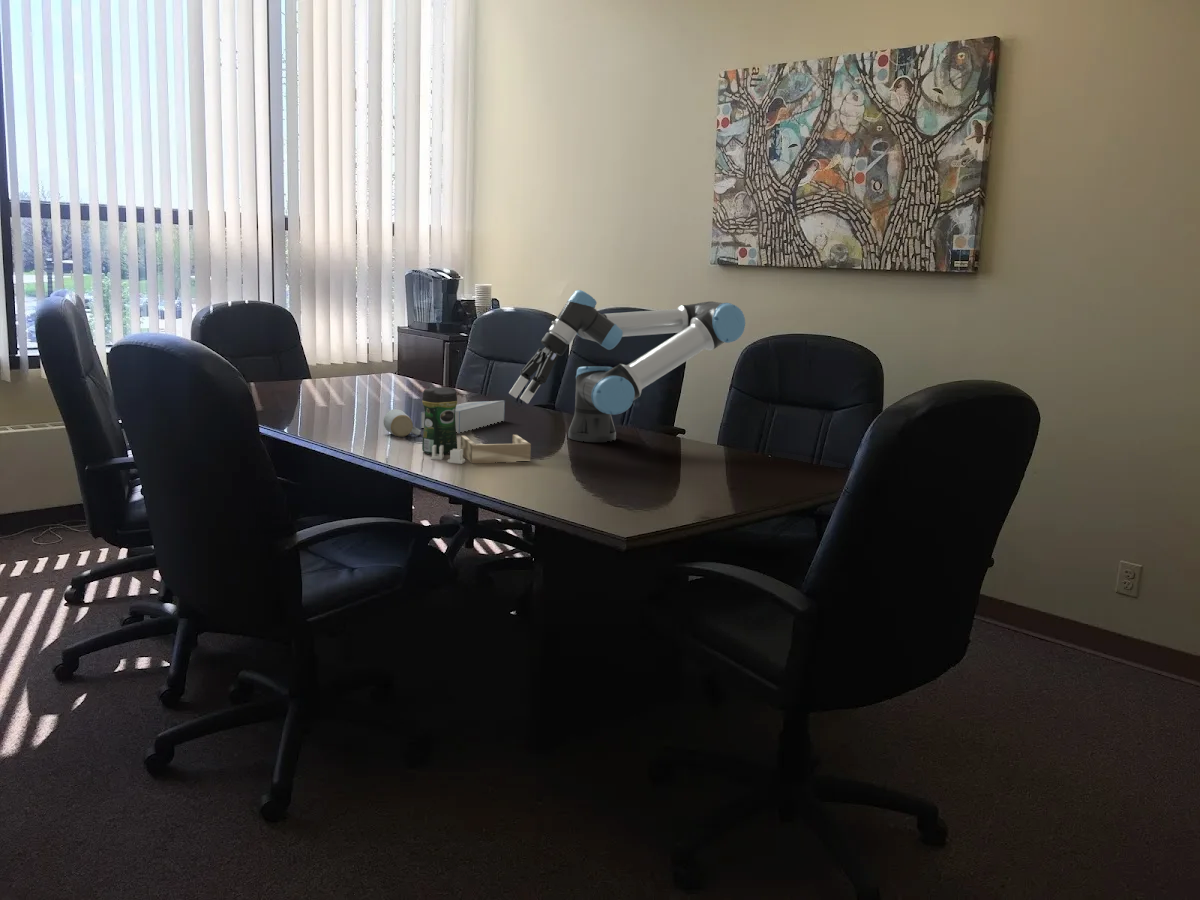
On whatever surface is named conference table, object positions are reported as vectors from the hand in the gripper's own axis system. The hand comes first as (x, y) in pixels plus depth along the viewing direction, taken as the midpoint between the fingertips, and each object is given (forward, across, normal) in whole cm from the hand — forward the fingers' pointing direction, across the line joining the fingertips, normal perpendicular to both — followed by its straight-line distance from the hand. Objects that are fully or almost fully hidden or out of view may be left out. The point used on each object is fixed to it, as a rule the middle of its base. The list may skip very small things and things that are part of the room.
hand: (517, 398), depth 282 cm
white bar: (+16, -43, +2) cm, 46 cm away
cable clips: (+26, +14, -11) cm, 31 cm away
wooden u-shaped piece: (+18, +10, +1) cm, 21 cm away
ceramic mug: (+29, -25, -17) cm, 42 cm away
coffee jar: (+26, +3, -11) cm, 28 cm away
